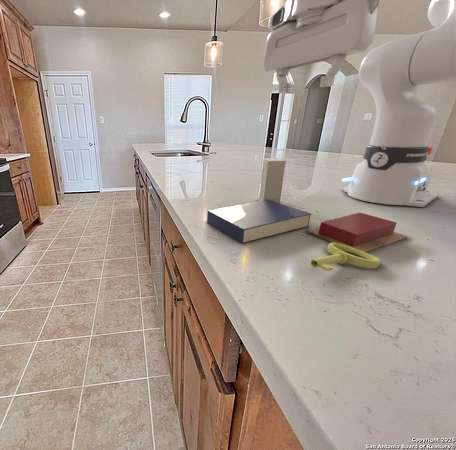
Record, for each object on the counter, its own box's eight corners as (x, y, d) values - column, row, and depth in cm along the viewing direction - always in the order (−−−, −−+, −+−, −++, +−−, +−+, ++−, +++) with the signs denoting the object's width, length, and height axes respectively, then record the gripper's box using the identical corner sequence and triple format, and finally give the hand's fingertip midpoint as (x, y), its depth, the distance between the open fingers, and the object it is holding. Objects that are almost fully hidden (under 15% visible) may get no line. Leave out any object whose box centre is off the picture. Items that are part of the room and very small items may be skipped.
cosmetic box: (279, 207, 65) (287, 160, 60) (261, 206, 66) (268, 161, 61) (273, 200, 71) (280, 157, 66) (257, 200, 72) (263, 157, 67)
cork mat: (350, 220, 55) (351, 219, 55) (406, 238, 46) (407, 236, 46) (306, 232, 50) (307, 230, 50) (360, 254, 42) (361, 252, 41)
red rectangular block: (356, 222, 53) (359, 212, 52) (392, 233, 47) (397, 222, 46) (318, 233, 49) (320, 222, 48) (352, 246, 43) (356, 234, 42)
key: (306, 272, 37) (309, 260, 36) (330, 245, 45) (333, 235, 44) (365, 294, 32) (371, 280, 31) (381, 260, 40) (386, 248, 39)
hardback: (265, 210, 63) (267, 199, 62) (308, 226, 53) (311, 213, 52) (206, 222, 57) (207, 210, 56) (242, 243, 47) (243, 229, 46)
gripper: (399, -24, 36) (370, 82, 42) (284, 25, 54) (275, 95, 59) (373, -32, 34) (346, 81, 40) (262, 22, 52) (254, 95, 57)
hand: (303, 90), depth 50 cm, fingers open, 8 cm apart
